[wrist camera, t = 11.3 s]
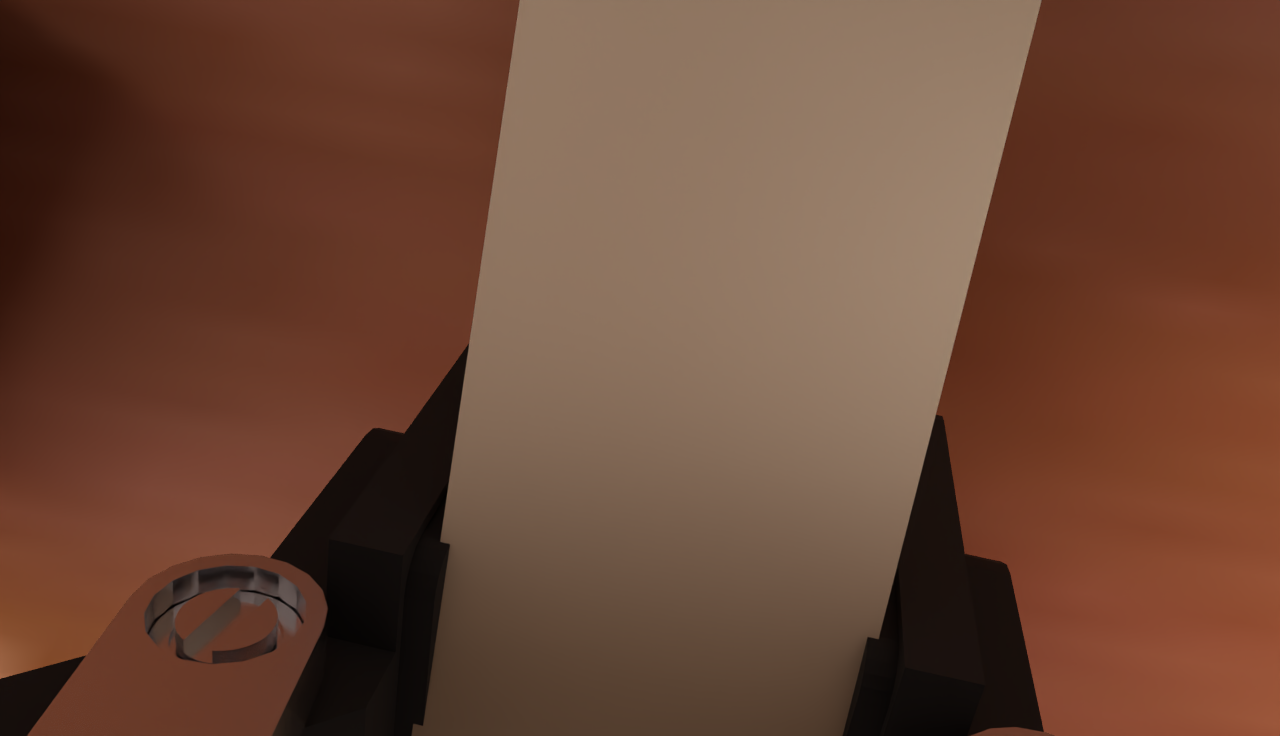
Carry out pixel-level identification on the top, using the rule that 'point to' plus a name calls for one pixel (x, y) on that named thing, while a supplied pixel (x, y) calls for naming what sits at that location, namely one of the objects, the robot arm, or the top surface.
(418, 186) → the top surface
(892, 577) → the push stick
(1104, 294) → the top surface
